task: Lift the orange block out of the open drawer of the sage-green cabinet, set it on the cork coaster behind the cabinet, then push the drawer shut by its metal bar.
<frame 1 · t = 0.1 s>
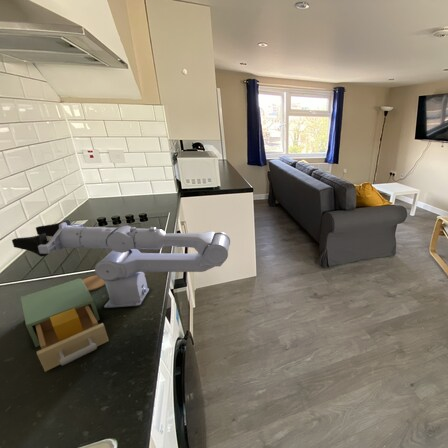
hand: (26, 236, 67), 22 cm above the table, tool horizontal, fingers open, 7 cm apart
orange block: (69, 332, 63), point 2 cm above the table, touching drawer
coaster: (93, 283, 86), on the table
egg: (139, 276, 90), on the table
drawer: (71, 336, 61), point 3 cm above the table, slide at 10.0 cm, touching orange block
cabinet: (64, 318, 70), on the table
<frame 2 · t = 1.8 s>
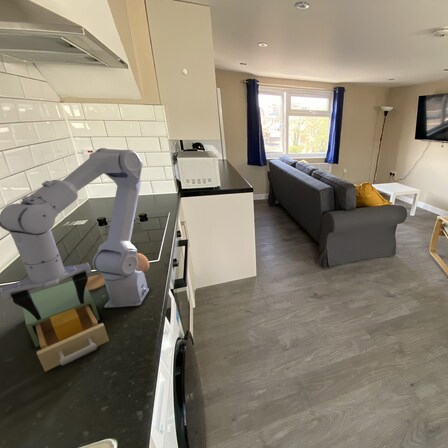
hand: (61, 309, 61), 9 cm above the table, tool pointing down, fingers open, 7 cm apart
nothing on the table moved.
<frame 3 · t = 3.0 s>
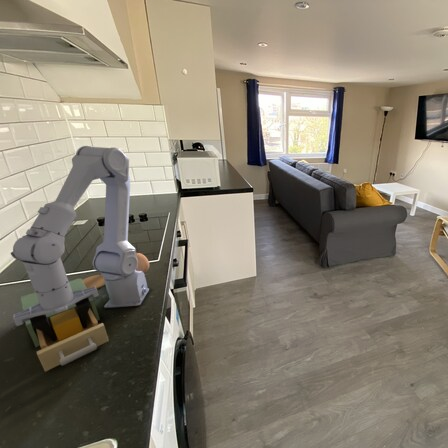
hand: (69, 332, 63), 2 cm above the table, tool pointing down, fingers closed on drawer, 5 cm apart
drawer: (71, 336, 61), point 3 cm above the table, slide at 10.0 cm, touching gripper, orange block
everything else where it was.
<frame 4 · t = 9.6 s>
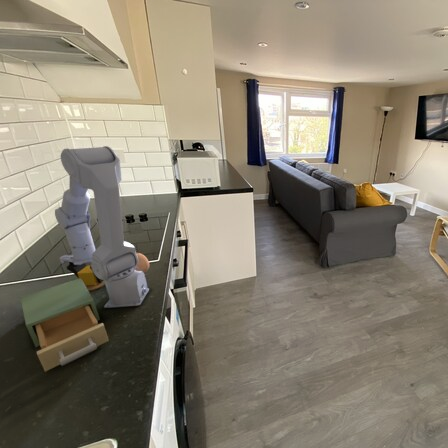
hand: (93, 281, 85), 1 cm above the table, tool pointing down, fingers closed on orange block, 4 cm apart
orange block: (93, 281, 85), point 1 cm above the table, touching gripper
drawer: (71, 336, 61), point 3 cm above the table, slide at 10.0 cm
everything else where it was.
when the fingers open (2 cm above the table, at t = 20.5 s): orange block drops 2 cm, resting on coaster.
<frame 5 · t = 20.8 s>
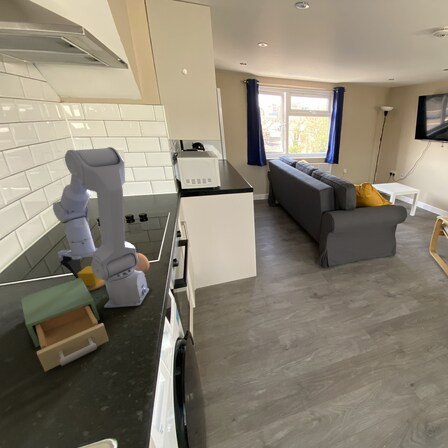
hand: (91, 276, 85), 3 cm above the table, tool pointing down, fingers open, 7 cm apart
orange block: (93, 281, 85), point 1 cm above the table, touching coaster
everything else where it was.
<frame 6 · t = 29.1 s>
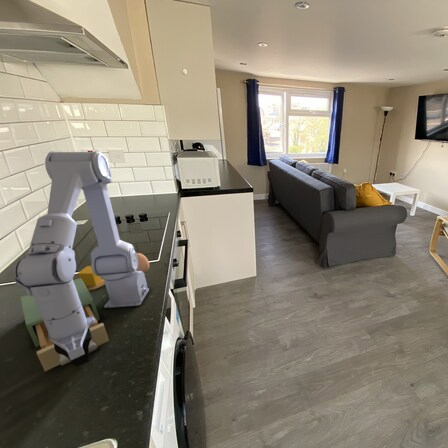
hand: (82, 362, 55), 3 cm above the table, tool pointing down, fingers closed
drawer: (71, 336, 61), point 3 cm above the table, slide at 9.9 cm, touching gripper
everything else where it was.
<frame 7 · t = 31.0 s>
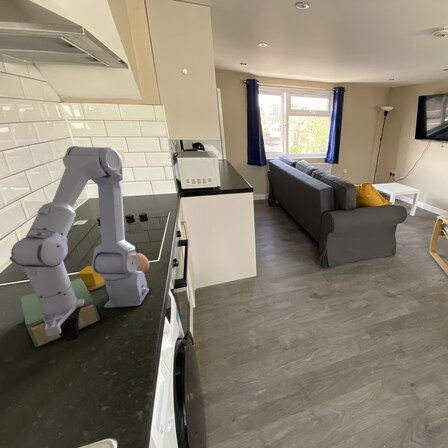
hand: (72, 338, 61), 3 cm above the table, tool pointing down, fingers closed, pressing on drawer
drawer: (63, 316, 67), point 3 cm above the table, slide at 0.2 cm, touching gripper
everything else where it was.
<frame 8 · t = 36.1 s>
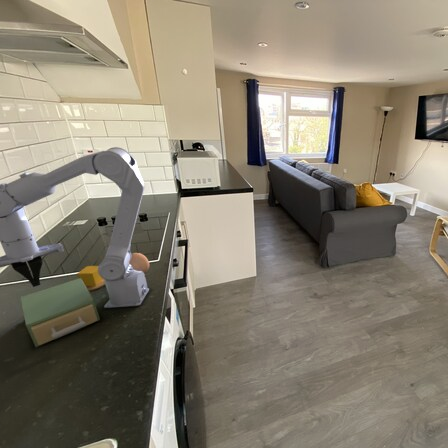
hand: (36, 284, 69), 9 cm above the table, tool pointing down, fingers closed
drawer: (63, 315, 67), point 3 cm above the table, slide at 0.0 cm, touching cabinet
everything else where it was.
at the end: orange block 0.1 cm off-centre on the coaster, point 0.5 cm above the coaster's base; orange block tilted 0°; drawer slide at 0.0 cm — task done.
